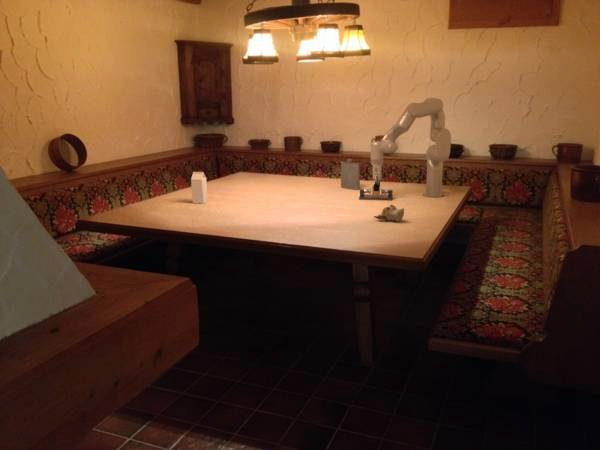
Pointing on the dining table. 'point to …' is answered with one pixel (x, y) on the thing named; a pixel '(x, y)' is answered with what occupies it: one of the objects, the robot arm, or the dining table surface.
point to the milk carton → (199, 187)
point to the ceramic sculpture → (391, 214)
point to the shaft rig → (369, 197)
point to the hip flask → (350, 175)
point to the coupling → (375, 192)
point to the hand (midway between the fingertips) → (376, 189)
